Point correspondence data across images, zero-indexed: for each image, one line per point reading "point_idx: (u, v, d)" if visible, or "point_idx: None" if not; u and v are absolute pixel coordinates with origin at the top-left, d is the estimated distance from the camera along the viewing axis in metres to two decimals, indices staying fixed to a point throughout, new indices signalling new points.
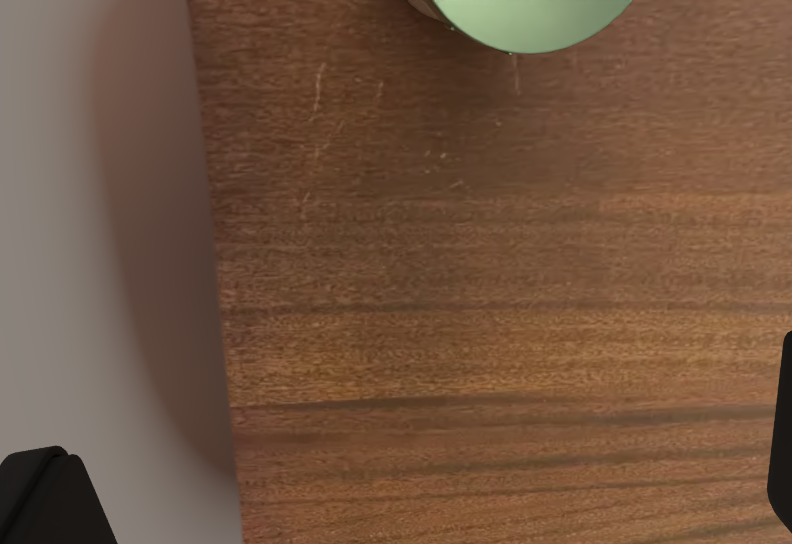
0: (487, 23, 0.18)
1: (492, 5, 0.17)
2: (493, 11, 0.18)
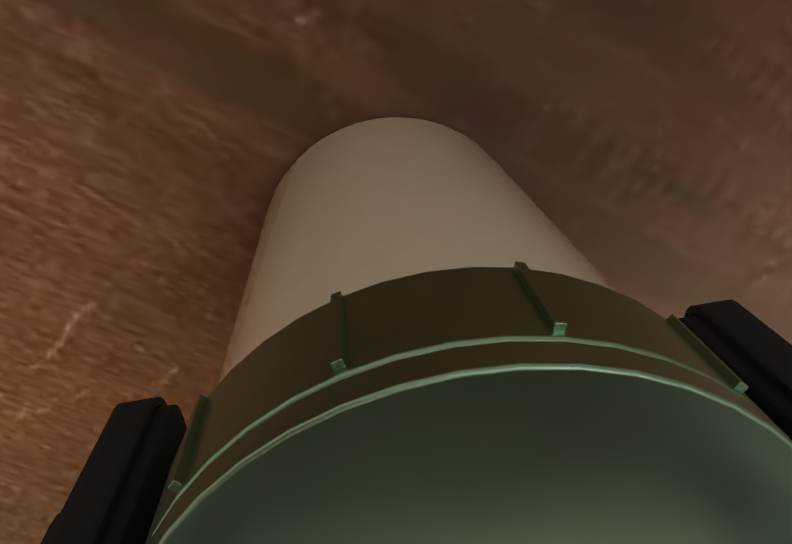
0: None
1: None
2: None
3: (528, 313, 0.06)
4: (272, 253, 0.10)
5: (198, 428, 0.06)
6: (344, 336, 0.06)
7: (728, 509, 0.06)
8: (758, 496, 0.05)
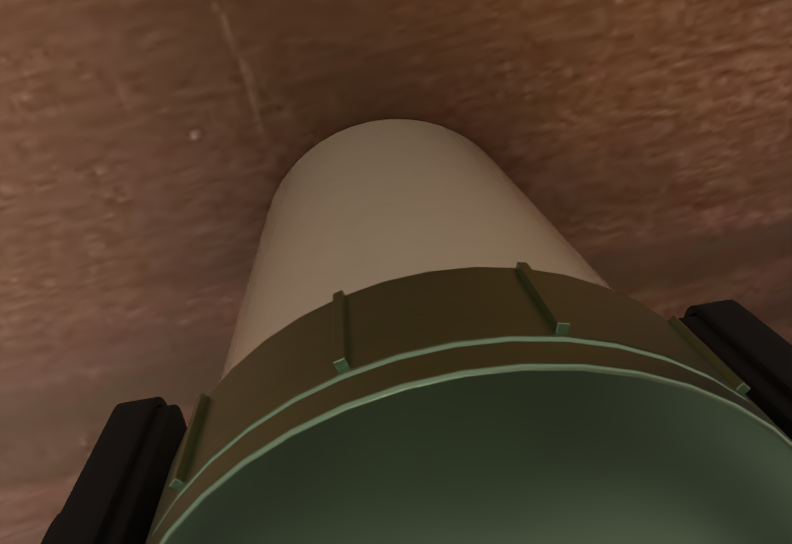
0: None
1: None
2: None
3: (531, 313, 0.06)
4: None
5: (199, 426, 0.06)
6: (347, 335, 0.06)
7: (729, 510, 0.06)
8: (760, 498, 0.05)
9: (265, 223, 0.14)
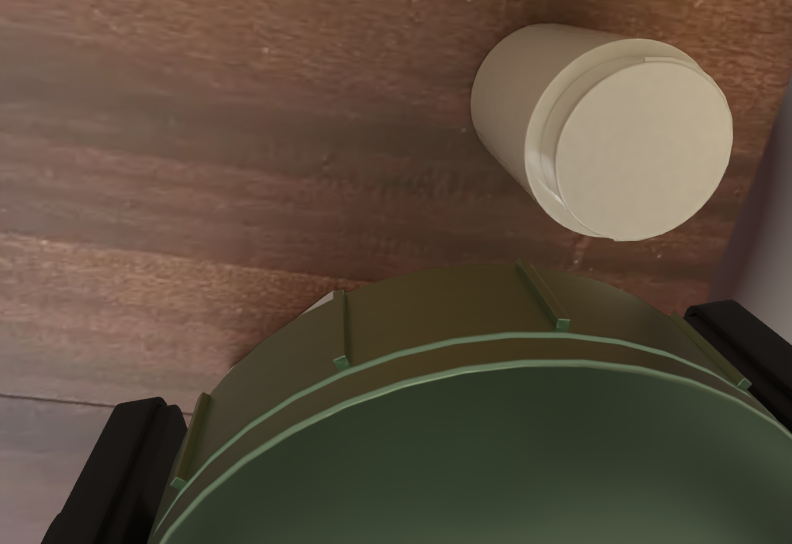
0: None
1: None
2: None
3: (531, 309, 0.06)
4: None
5: (200, 425, 0.06)
6: (347, 332, 0.06)
7: (731, 506, 0.06)
8: (762, 493, 0.05)
9: (499, 53, 0.27)
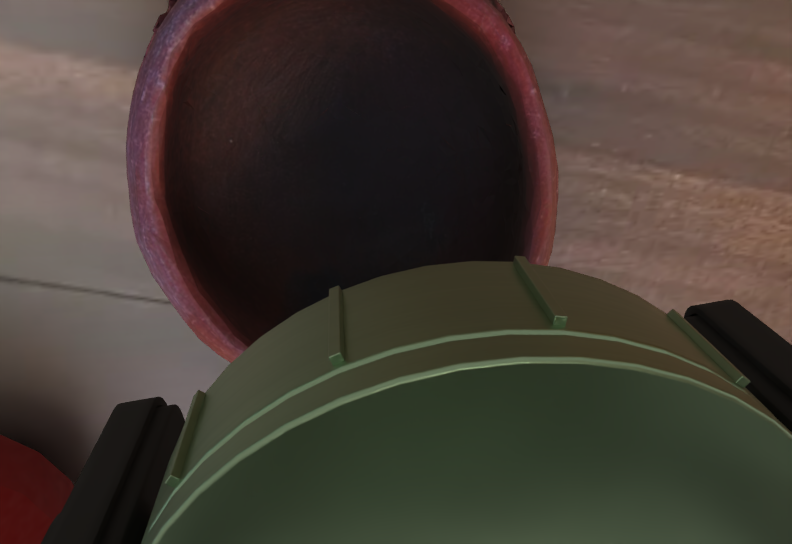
0: None
1: None
2: None
3: (528, 306, 0.05)
4: None
5: (196, 423, 0.06)
6: (343, 329, 0.06)
7: (730, 504, 0.05)
8: (760, 491, 0.05)
9: None
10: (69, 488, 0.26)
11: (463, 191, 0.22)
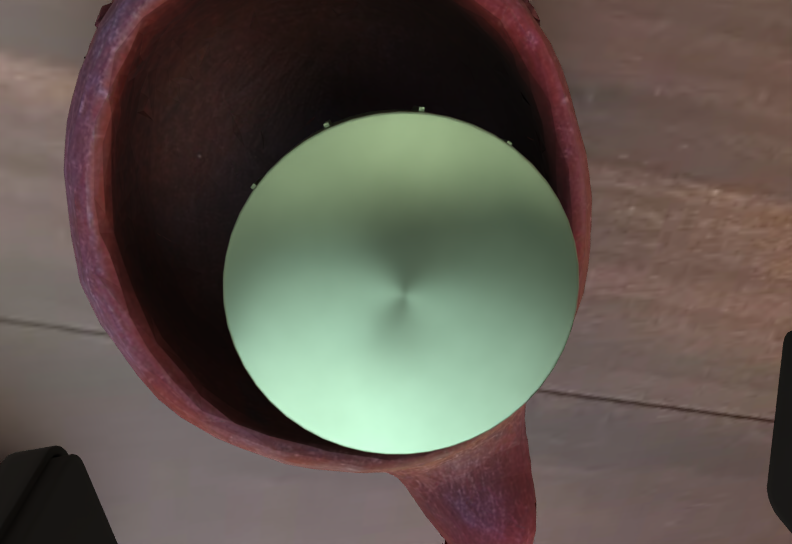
0: (284, 380, 0.13)
1: (300, 364, 0.13)
2: (297, 371, 0.13)
3: (410, 110, 0.13)
4: None
5: (262, 178, 0.13)
6: (330, 123, 0.13)
7: (501, 192, 0.12)
8: (514, 185, 0.12)
9: None
10: None
11: None
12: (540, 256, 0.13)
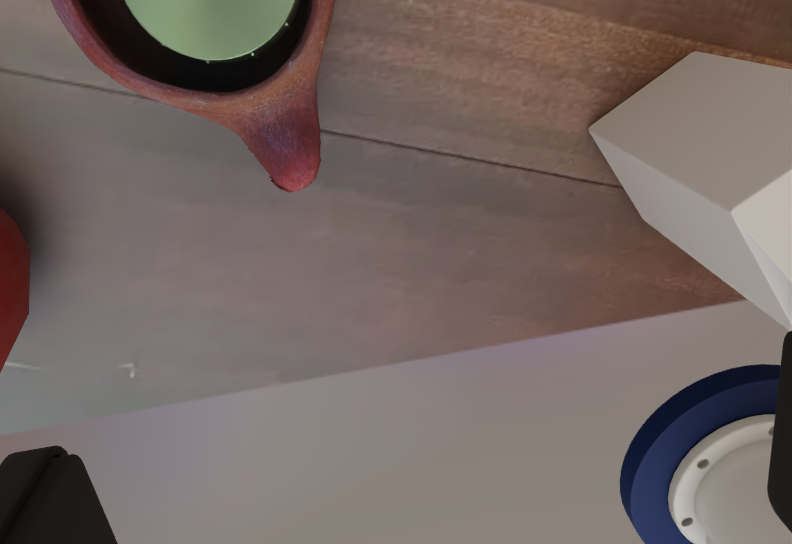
0: (147, 12, 0.25)
1: (155, 3, 0.25)
2: (154, 7, 0.25)
3: None
4: None
5: None
6: None
7: None
8: None
9: None
10: (13, 223, 0.34)
11: None
12: None
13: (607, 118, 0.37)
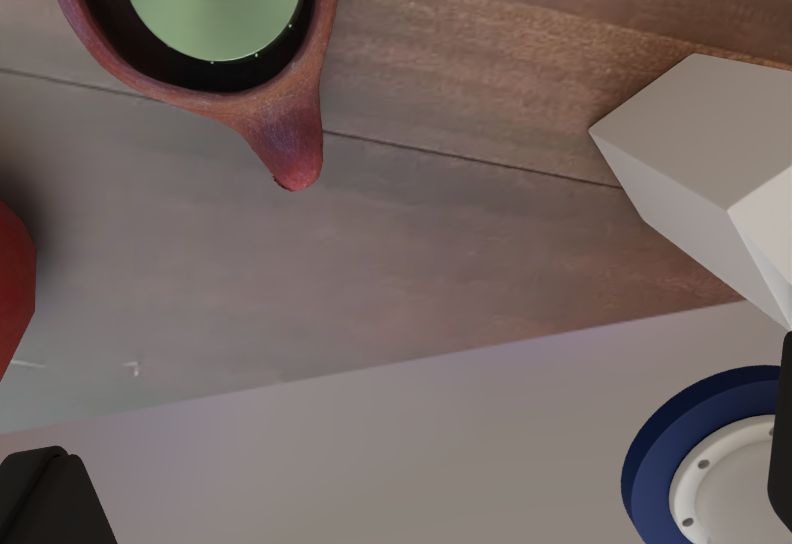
0: (153, 14, 0.25)
1: (161, 4, 0.25)
2: (160, 8, 0.25)
3: None
4: None
5: None
6: None
7: None
8: None
9: None
10: (20, 222, 0.35)
11: None
12: None
13: (607, 119, 0.37)
